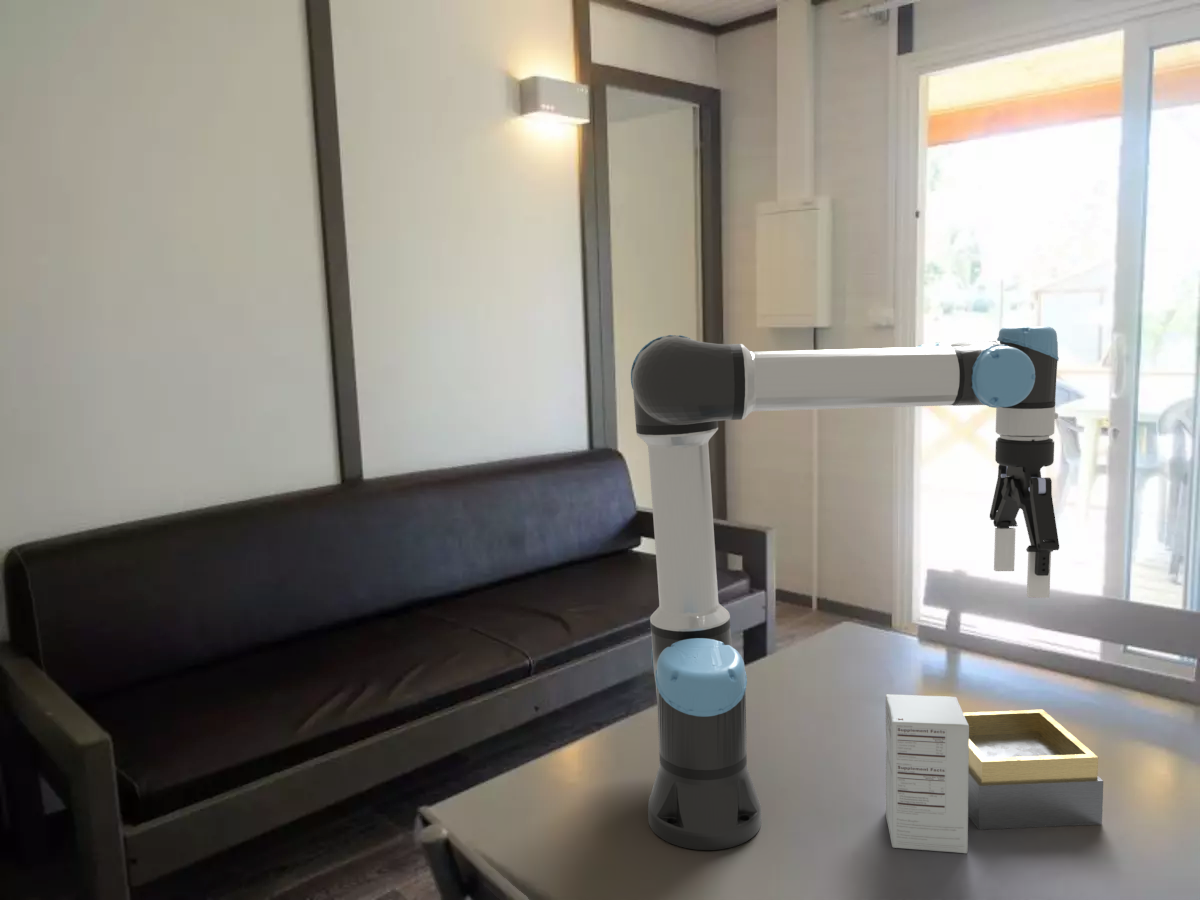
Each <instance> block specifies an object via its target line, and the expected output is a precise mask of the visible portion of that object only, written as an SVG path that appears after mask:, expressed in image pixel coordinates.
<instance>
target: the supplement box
mask: <svg viewBox="0 0 1200 900" xmlns="http://www.w3.org/2000/svg"><path fill="white" fill-rule="evenodd" d="M963 713H964V711H963V709H962V707H961V705H960V703H959V700H958V697H956V696H949V695H948V696H945V695H944V696H943V695H919V694H918V695H915V694H912V695H911V694H893V693H892V694H888V693H887V694H885V740H886V741H885V746H886V749H885V751H886V752H885V817H886V818H885V819H886V823H887V826H888V833H889V838H890V843H891V844H890V845H891V847H892V848H894V849H895V848H896V849H905V850H906V849H907V850H920V851H921V850H922V851H934V852H945V853H958V854H968V848H969V847H968V846H969V845H968V843H969V842H968V841H969V835H968V834H969V831H968V830H969V816H968V766H969V725H968V723H967V720H966V718H965V716H964V714H963Z"/></svg>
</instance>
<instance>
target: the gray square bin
mask: <svg viewBox="0 0 1200 900" xmlns="http://www.w3.org/2000/svg"><path fill="white" fill-rule="evenodd" d="M963 714H964V716H965V718H966V720H967V723H968V725H969V766H968V818H969V819H970V820H971V822H972V823H973V824H974V825H975V827H976V828H977V829H978V830H996V829H997V830H999V829H1001V830H1003V829H1021V828H1022V829H1024V828H1025V829H1026V828H1027V829H1028V828H1048V827H1052V828H1053V827H1069V826H1071V827H1072V826H1073V827H1075V826H1093V825H1095V826H1096V825H1097V826H1098V825H1103V804H1104V803H1103V801H1104V780H1103V779H1102V778H1101V777H1100V776H1098V775H1099V774H1098V773H1099V769H1098V768H1099V757H1098V755H1096V754H1095V753H1094V752H1093V751H1091V750H1090V749H1089V747H1087V746H1086V745H1085V744H1084V743H1082V742H1081V741H1080V740H1079V739H1078V738H1077V737H1075V736H1074V735H1073V734H1072V733H1071V732H1070V731H1069V730H1067V729H1066V728H1065V727H1064V726H1062V724H1061V723H1059V722H1058V721H1057V720H1055V718H1053V717H1052V715H1050V714H1048V712H1046V711H1045V710H1044V709H1023V710H1022V709H1020V710H1000V711H999V710H997V711H994V710H993V711H977V712H976V711H975V712H974V711H972V712H971V711H970V712H968V711H967V712H963Z"/></svg>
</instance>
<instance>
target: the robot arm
mask: <svg viewBox="0 0 1200 900" xmlns="http://www.w3.org/2000/svg"><path fill="white" fill-rule="evenodd" d="M1058 344H1059V343H1058V334H1057V331H1056V329H1054V328H1053V327H1051V326H1047V325H1042V326H1041V325H1038V326H1037V325H1031V326H1028V325H1027V326H1006V327H1002V328H1001V329H1000V330H999V332H998V336H997V339H996V340H995V341H988V342H935V343H924V344H923V343H922V344H919V345H917V346H916V347H914V346H913V347H909V346H908V347H882V348H879V347H878V348H877V347H876V348H875V347H874V348H843V349H842V348H840V349H839V348H838V349H835V348H834V349H805V350H804V349H803V350H799V349H798V350H768V351H767V350H764V351H763V350H762V351H761V350H760V351H759V350H758V351H752V350H750V349H749V348H748V347H746V346H745V345H744V344H743V343H731V344H730V343H729V344H727V343H713V342H705V341H700V340H696V339H693V338H690V337H688V336H686V335H685V336H684V335H681V334H680V335H675V334H674V335H673V334H669V335H663V336H658V337H657V338H655V339H652V340H650V341H649V342H648V343H647V344H645V345H644V346H643V347H641V349H640V350H639V352H638V353H637V355H636V356H635V357H634V360H633V362H632V365H631V370H630V384H631V389H632V391H633V392H632V393H633V407H634V418H635V433H636V436H638V438H639V439H641V441H643V442H644V443H645V444H646V446H647V450H648V465H649V476H650V491H651V492H650V494H651V502H652V503H651V504H652V518H653V532H654V533H653V535H654V547H655V560H656V561H655V563H656V574H657V575H656V576H657V586H658V587H657V588H658V589H657V590H658V605H659V606H658V607H657V608H656V610H655V611H653V613H652V614H651V615H650V616H649V620H650V621H649V622H650V634H651V645H652V646H651V647H652V649H651V654H650V655H651V657H650V658H651V667H652V671H653V674H654V675H653V676H654V684H655V693H656V701H657V703H656V704H657V719H658V720H657V721H658V722H657V723H658V726H657V727H658V750H659V751H658V752H659V753H658V754H659V765H658V766H659V767H658V769H657V772H656V775H655V776H656V777H655V779H654V782H653V786H652V788H651V792H650V795H649V798H648V803H647V804H648V805H647V811H648V812H647V814H648V815H647V816H648V819H647V821H648V824H649V827H650V828H651V831H653V833H654V834H655V835H656V836H657V837H659V838H660V839H661V840H663V841H665V842H667V843H669V844H672V845H673V846H677V847H681V848H685V849H689V850H696V851H715V850H716V851H718V850H725V849H730V848H734V847H736V846H739V845H742V844H745V843H746V842H748V841H749V840H750V839H752V838H754V837H755V836H756V835H757V833H758V832H759V831H760V830H761V826H762V806H761V800H760V799H759V796H758V795H759V794H758V793H757V790H756V787H755V785H754V781H753V779H752V776H751V772H750V771H749V768H748V755H747V752H748V751H747V748H748V747H747V742H748V741H747V707H746V706H747V703H746V702H747V699H746V693H747V685H748V677H747V673H746V668H745V662H744V659H743V657H742V655H741V654H740V652H739V651H738V650H737V649H735V648H734V647H733V645H732V633H731V631H732V629H731V615H730V612H729V611H728V609H726V608H725V607H724V606H722V604H720V602H719V591H718V576H717V560H716V559H717V558H716V544H715V542H716V541H715V530H714V529H715V527H714V512H713V497H712V483H711V482H712V479H711V465H710V463H711V462H710V448H709V441H710V440H711V438H712V437H713V436H714V435H715V434H716V432H717V431H718V430H719V422H722V421H737V420H738V421H739V420H740V421H741V420H745V419H746V418H747V417H748V416H749V414H751V413H753V412H769V411H770V412H771V411H772V412H775V411H802V410H804V411H805V410H808V411H809V410H833V409H834V410H835V409H836V410H839V409H841V410H842V409H844V410H845V409H872V408H873V409H874V408H875V409H876V408H905V407H907V408H909V407H937V406H938V407H940V406H959V407H960V406H987V407H989V408H995V409H996V410H995V412H996V413H995V433H996V434H997V435H999V436H998V437H997V438H996V439H995V456H994V457H995V458H994V459H995V462H996V463H997V464H998V471H997V480H996V486H995V488H994V493H993V499H992V503H991V507H990V513H989V518H990V519H989V520H991V521H993V526H994V527H995V528H994V551H993V552H994V553H993V554H994V555H993V556H994V557H993V558H994V559H993V570H994V571H995V572H1015V557H1016V553H1015V552H1016V528H1015V527H1018V523H1017V521H1016V520H1017V519H1016V518H1017V515H1018V513H1019V511H1020V510H1021V511H1022V514H1023V518H1024V522H1025V526H1026V530H1027V535H1028V540H1029V542H1030V543H1029V544H1030V545H1028V546H1027V548H1026V550H1025V551H1026V552H1027V553H1028V554H1027V577H1026V578H1027V579H1026V583H1027V584H1026V597H1027V598H1030V599H1033V598H1036V599H1040V598H1041V599H1042V598H1043V599H1046V598H1047V599H1048V598H1049V599H1050V588H1051V565H1052V563H1051V560H1052V553H1053V552H1054V551H1059V549H1060V542H1059V536H1058V528H1057V522H1056V516H1055V515H1056V513H1055V508H1054V503H1053V501H1054V500H1053V496H1052V495H1053V494H1052V489H1053V488H1052V479H1051V477H1042V475H1041V474H1042V471H1041V469H1042V468H1043V467H1046V468H1047V467H1049V466H1052V465H1053V464H1054V462H1055V461H1054V460H1055V459H1054V458H1055V440H1054V439H1053V438H1052V437H1051V436H1053V435H1054V434H1055V424H1056V423H1055V420H1057V419H1058V418H1059V414H1058V412H1057V411H1056V396H1057V395H1056V394H1057V393H1056V392H1057V377H1058V376H1057V374H1058V373H1057V372H1058V362H1059V359H1060V358H1059V352H1058V351H1059V346H1058Z"/></svg>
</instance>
